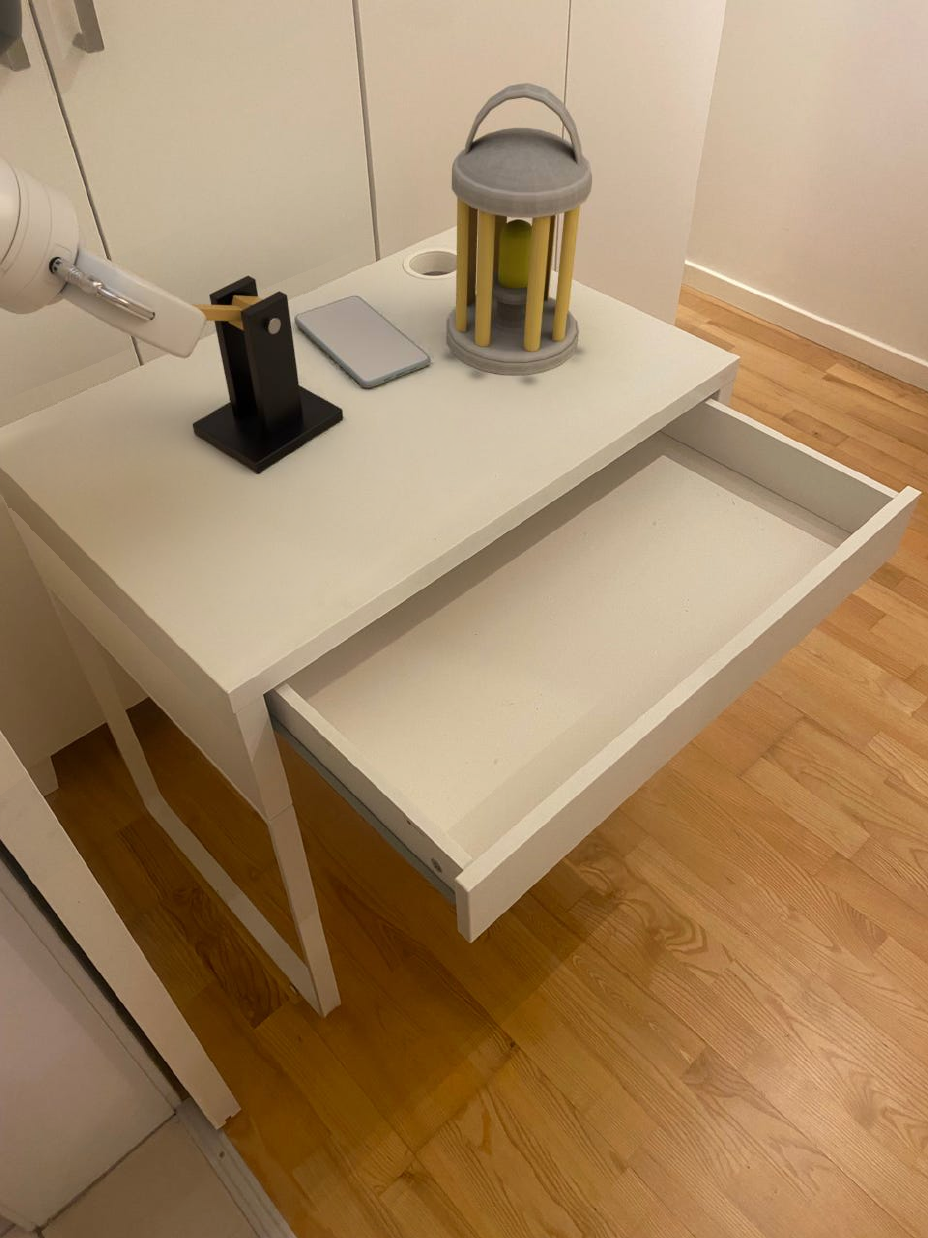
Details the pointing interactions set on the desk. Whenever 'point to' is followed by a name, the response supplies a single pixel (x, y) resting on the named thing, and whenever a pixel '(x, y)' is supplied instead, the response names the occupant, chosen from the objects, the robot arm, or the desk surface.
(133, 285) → the robot arm
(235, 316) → the lever
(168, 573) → the desk surface
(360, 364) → the smartphone
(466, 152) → the lantern
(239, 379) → the switch bracket
